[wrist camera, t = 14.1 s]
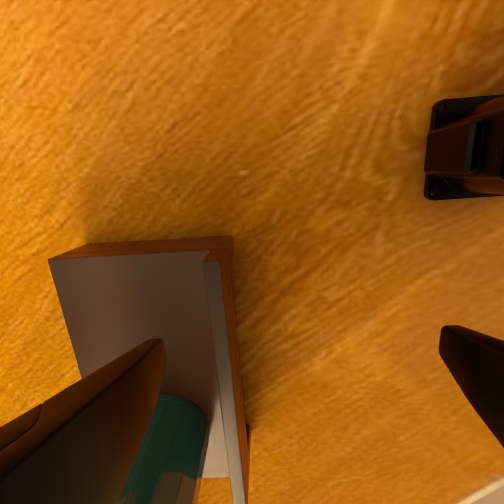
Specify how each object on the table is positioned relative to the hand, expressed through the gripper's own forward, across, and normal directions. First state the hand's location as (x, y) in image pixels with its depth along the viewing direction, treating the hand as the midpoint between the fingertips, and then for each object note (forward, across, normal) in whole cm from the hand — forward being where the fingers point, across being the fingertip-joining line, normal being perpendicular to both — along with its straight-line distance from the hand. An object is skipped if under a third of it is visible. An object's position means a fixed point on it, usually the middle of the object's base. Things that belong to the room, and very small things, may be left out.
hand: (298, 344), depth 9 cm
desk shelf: (+13, +10, +9) cm, 18 cm away
